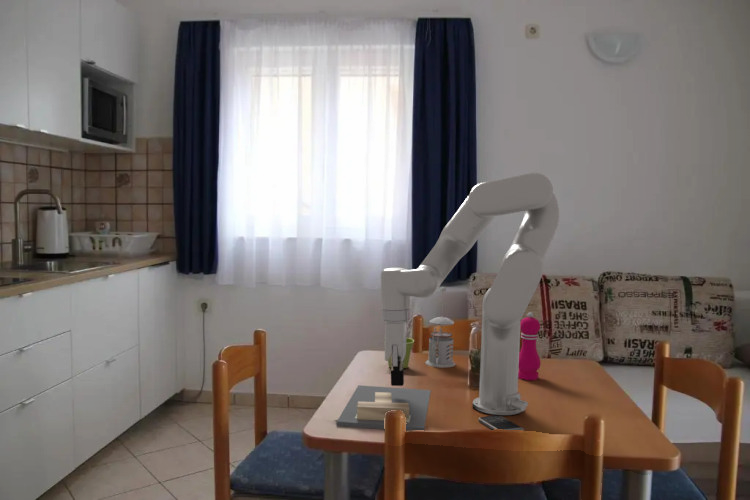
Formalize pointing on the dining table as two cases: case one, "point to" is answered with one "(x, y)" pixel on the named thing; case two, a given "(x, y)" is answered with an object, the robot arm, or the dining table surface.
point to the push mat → (398, 395)
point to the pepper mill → (529, 349)
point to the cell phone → (499, 423)
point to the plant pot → (406, 359)
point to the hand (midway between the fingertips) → (397, 384)
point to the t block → (380, 407)
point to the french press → (440, 343)
